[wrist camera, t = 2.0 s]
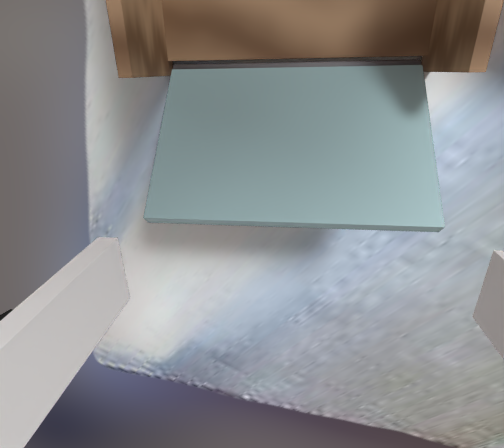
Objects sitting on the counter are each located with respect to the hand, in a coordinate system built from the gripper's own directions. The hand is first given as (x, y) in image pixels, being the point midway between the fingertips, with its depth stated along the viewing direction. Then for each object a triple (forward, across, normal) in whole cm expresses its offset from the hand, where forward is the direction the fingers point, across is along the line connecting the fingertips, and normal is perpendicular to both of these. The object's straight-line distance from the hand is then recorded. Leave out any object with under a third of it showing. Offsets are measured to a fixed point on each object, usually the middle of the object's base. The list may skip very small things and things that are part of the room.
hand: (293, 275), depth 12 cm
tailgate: (+22, 0, +7) cm, 23 cm away
